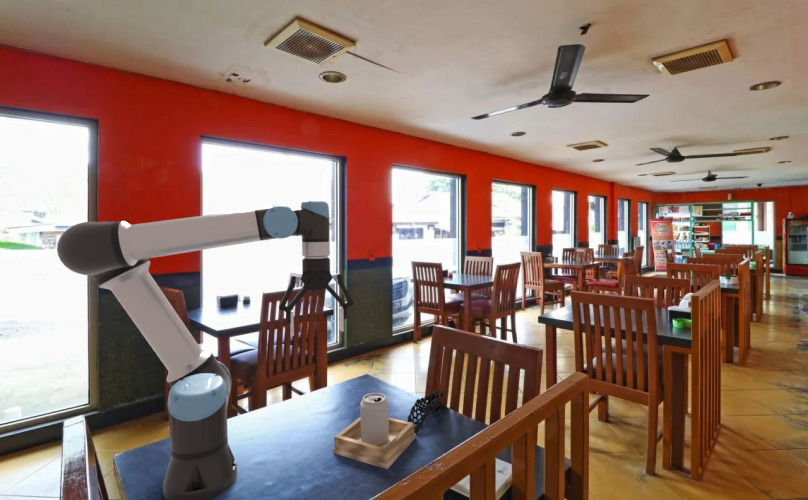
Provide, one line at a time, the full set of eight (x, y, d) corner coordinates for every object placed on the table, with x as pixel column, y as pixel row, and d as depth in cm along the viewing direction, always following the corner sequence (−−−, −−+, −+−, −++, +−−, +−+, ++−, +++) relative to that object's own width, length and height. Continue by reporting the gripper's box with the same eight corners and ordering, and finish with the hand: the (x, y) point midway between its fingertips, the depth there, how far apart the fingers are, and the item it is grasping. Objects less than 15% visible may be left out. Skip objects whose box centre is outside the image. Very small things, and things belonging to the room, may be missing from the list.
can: (382, 450, 103) (382, 404, 102) (355, 445, 105) (355, 400, 104) (392, 436, 110) (392, 393, 109) (367, 431, 112) (367, 389, 111)
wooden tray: (333, 452, 104) (332, 437, 104) (366, 425, 118) (365, 411, 118) (387, 469, 97) (387, 452, 96) (415, 437, 111) (415, 423, 111)
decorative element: (419, 436, 112) (420, 415, 112) (403, 432, 115) (403, 412, 114) (445, 403, 133) (445, 386, 133) (431, 400, 135) (431, 383, 135)
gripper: (357, 255, 119) (358, 325, 120) (268, 257, 111) (270, 333, 113) (363, 256, 112) (363, 332, 113) (268, 259, 104) (270, 340, 105)
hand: (317, 332), depth 113 cm, fingers open, 13 cm apart
